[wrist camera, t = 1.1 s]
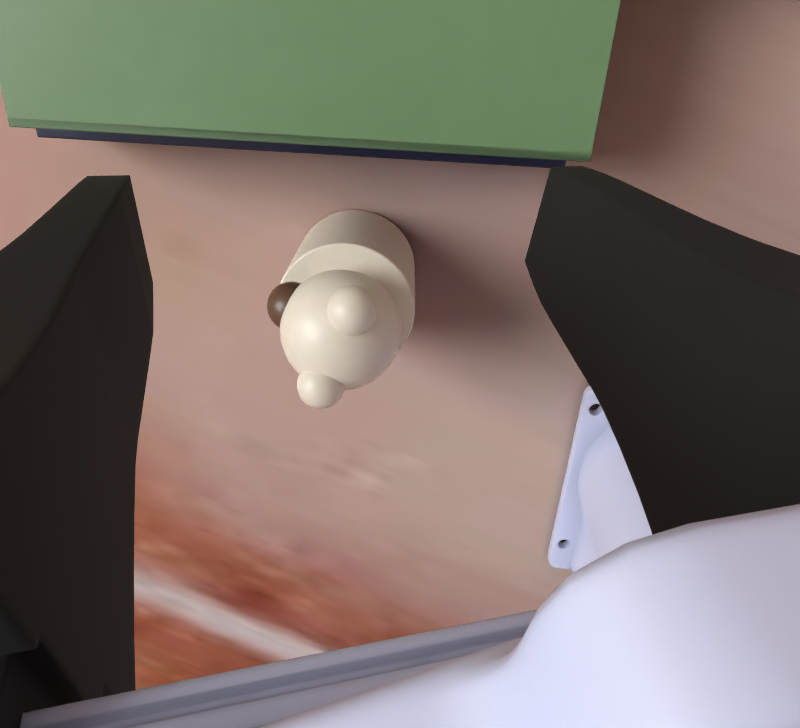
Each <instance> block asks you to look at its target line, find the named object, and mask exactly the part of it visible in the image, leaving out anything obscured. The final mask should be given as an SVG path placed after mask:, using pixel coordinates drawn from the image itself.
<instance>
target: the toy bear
mask: <svg viewBox="0 0 800 728" xmlns="http://www.w3.org/2000/svg"><path fill="white" fill-rule="evenodd" d="M267 310H268V314H269V316H270V318H271V320H272V321H273V322H274V323H275V324H276V325H277V326H278V327H280V339H281V344H282V347H283V350H284V353H285V355H286V357H287V359H288V361H289V362H290V364H291V365H292V367H293V368H294V369H295V370H296V371H297V372H298V373H299V377H298V380H297V390H298V393H299V396H300V397H301V399H302V400H303V401H304V402H305V403H306V404H307V405H309V406H311V407H314V408H319V409H323V408H328V407H330V406H333V405H334V404H335V403H337V402H338V401H339V400H340V398H341V397H342V395H343V392H344V390H350V389H355V388H358V387H361V386H364V385H366V384H368V383H370V382H372V381H374V380H375V379H376V378H378V377H379V376H380V375H381V374H382V373H383V372H384V371H385V370H386V369H387V368H388V367H389V365H390V364H391V362H392V360H393V359H394V357H395V355H396V352H397V351H398V350H399V349H400V348H401V347H402V346H403V345H404V343H405V342H406V340H407V338H408V337H409V335H410V332H411V330H412V327H413V322H414V317H415V262H414V256H413V253H412V250H411V247H410V245H409V243H408V241H407V239H406V238H405V236H404V235H403V233H402V232H401V231H400V230H399V229H398V228H397V227H396V226H395V225H394V224H393V223H392V222H390V221H389V220H387V219H386V218H384V217H382V216H380V215H378V214H375V213H372V212H368V211H363V210H345V211H340V212H337V213H334V214H331V215H329V216H327V217H325V218H323V219H322V220H320V221H319V222H318V223H316V224H315V225H314V226H313V227H312V228H311V230H310V231H309V232H308V233H307V235H306V236H305V238H304V240H303V242H302V243H301V245H300V247H299V249H298V251H297V253H296V254H295V256H294V258H293V260H292V262H291V264H290V265H289V267H288V269H287V271H286V273H285V274H284V276H283V279H282V281H281V283H280V285H278V286H277V287H276V288H275V289H274V290H273V291H272V292H271V294H270V296H269V298H268V302H267Z"/></svg>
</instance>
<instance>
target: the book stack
mask: <svg viewBox="0 0 800 728" xmlns="http://www.w3.org/2000/svg"><path fill="white" fill-rule="evenodd" d="M620 3H621V0H0V86H1V91H2V95H3V100H4V104H5V109H6V113H7V117H8V122H9V126H10V127H22V128H36V130H37V135H38V137H46V138H62V139H79V140H95V141H112V142H128V143H145V144H162V145H178V146H195V147H211V148H228V149H244V150H261V151H278V152H294V153H311V154H327V155H344V156H360V157H377V158H394V159H410V160H427V161H443V162H460V163H476V164H493V165H510V166H526V167H543V168H551V167H565V163H566V160H568V161H585V162H590V161H591V156H592V150H593V145H594V140H595V135H596V129H597V124H598V119H599V114H600V108H601V103H602V98H603V93H604V87H605V82H606V77H607V72H608V66H609V61H610V56H611V51H612V45H613V40H614V35H615V29H616V24H617V19H618V14H619V8H620Z"/></svg>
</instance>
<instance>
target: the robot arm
mask: <svg viewBox="0 0 800 728" xmlns="http://www.w3.org/2000/svg"><path fill="white" fill-rule="evenodd" d="M525 263H526V265H527V268H528V271H529V274H530V277H531V279H532V282H533V285H534V287H535V290H536V292H537V294H538V297H539V299H540V302H541V304H542V305H543V307H544V309H545V311H546V313H547V314H548V316H549V318H550V319H551V321H552V323H553V325H554V326H555V328H556V330H557V332H558V333H559V335H560V337H561V338H562V340H563V342H564V343H565V345H566V347H567V348H568V350H569V352H570V353H571V355H572V357H573V358H574V360H575V362H576V363H577V365H578V367H579V368H580V370H581V372H582V373H583V375H584V377H585V378H586V380H587V382H588V383H589V386H588V387H587V388H586V389H585V391H584V393H583V397H582V402H581V406H580V411H579V415H578V420H577V424H576V429H575V433H574V438H573V442H572V447H571V451H570V456H569V460H568V465H567V469H566V474H565V478H564V483H563V487H562V492H561V496H560V501H559V505H558V510H557V514H556V519H555V523H554V528H553V532H552V537H551V541H550V546H549V550H548V561H549V564H550V565H551V566H552V567H554V568H562V569H571V570H572V573H571V574H570V575H569V576H568V577H567V578H566V579H565V580H564V581H563V582H562V583H561V584H560V585H559V586H558V587H557V588H556V589H555V590H554V591H553V593H552V594H551V595H550V596H549V597H548V598H547V599H546V600H545V601H544V602H543V603H542V604H541V605H540V606H539V608H538V610H533V611H528V612H523V613H518V614H513V615H508V616H503V617H498V618H493V619H488V620H483V621H478V622H473V623H468V624H463V625H458V626H453V627H448V628H443V629H438V630H433V631H428V632H423V633H418V634H413V635H408V636H403V637H398V638H393V639H388V640H383V641H378V642H373V643H368V644H363V645H358V646H353V647H348V648H343V649H339V650H334V651H329V652H324V653H319V654H314V655H309V656H304V657H299V658H294V659H289V660H284V661H279V662H274V663H269V664H264V665H259V666H254V667H249V668H244V669H239V670H234V671H229V672H224V673H219V674H214V675H209V676H204V677H199V678H194V679H189V680H184V681H179V682H174V683H169V684H164V685H159V686H154V687H149V688H144V689H139V690H135V654H134V504H135V464H136V453H137V442H138V434H139V428H140V421H141V414H142V407H143V400H144V394H145V387H146V380H147V373H148V366H149V359H150V352H151V345H152V337H153V281H152V276H151V272H150V267H149V262H148V258H147V253H146V249H145V244H144V239H143V235H142V230H141V225H140V221H139V216H138V212H137V207H136V202H135V198H134V193H133V189H132V184H131V179H130V175H124V176H87V177H86V178H84V179H83V180H82V181H81V182H79V183H78V184H77V185H76V186H75V187H74V188H73V189H72V190H70V191H69V192H68V193H67V194H66V195H65V196H64V197H63V198H62V199H61V200H60V201H59V202H57V203H56V204H55V205H54V206H53V207H52V208H51V209H50V210H49V211H47V212H46V213H45V214H44V215H43V216H42V217H41V218H40V219H38V220H37V221H36V222H35V223H34V224H33V225H32V226H31V227H29V228H28V229H27V230H26V231H25V232H24V233H23V234H21V235H20V236H19V237H18V238H16V239H15V240H14V241H12V242H11V243H10V244H9V245H7V246H6V247H5V248H3V249H2V250H1V251H0V728H800V255H797V254H794V253H791V252H788V251H785V250H782V249H779V248H776V247H773V246H770V245H767V244H764V243H761V242H758V241H756V240H753V239H751V238H748V237H745V236H743V235H740V234H738V233H735V232H733V231H730V230H728V229H726V228H723V227H721V226H719V225H716V224H714V223H711V222H709V221H707V220H704V219H702V218H700V217H698V216H695V215H693V214H691V213H689V212H687V211H684V210H682V209H680V208H678V207H676V206H674V205H672V204H669V203H667V202H665V201H663V200H661V199H659V198H657V197H655V196H653V195H650V194H648V193H646V192H644V191H642V190H640V189H638V188H635V187H633V186H631V185H629V184H627V183H625V182H623V181H620V180H618V179H616V178H613V177H611V176H609V175H606V174H604V173H601V172H599V171H596V170H593V169H590V168H586V167H583V166H565V167H551V169H550V172H549V176H548V179H547V183H546V187H545V190H544V194H543V198H542V201H541V205H540V208H539V212H538V216H537V219H536V223H535V226H534V230H533V234H532V237H531V241H530V244H529V248H528V252H527V255H526V259H525ZM593 404H600V406H599V407H598V408H597V409H596V410H590V409H589V408H590V407H591V406H592V405H593ZM561 540H567V541H565V542H560V541H561Z"/></svg>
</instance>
